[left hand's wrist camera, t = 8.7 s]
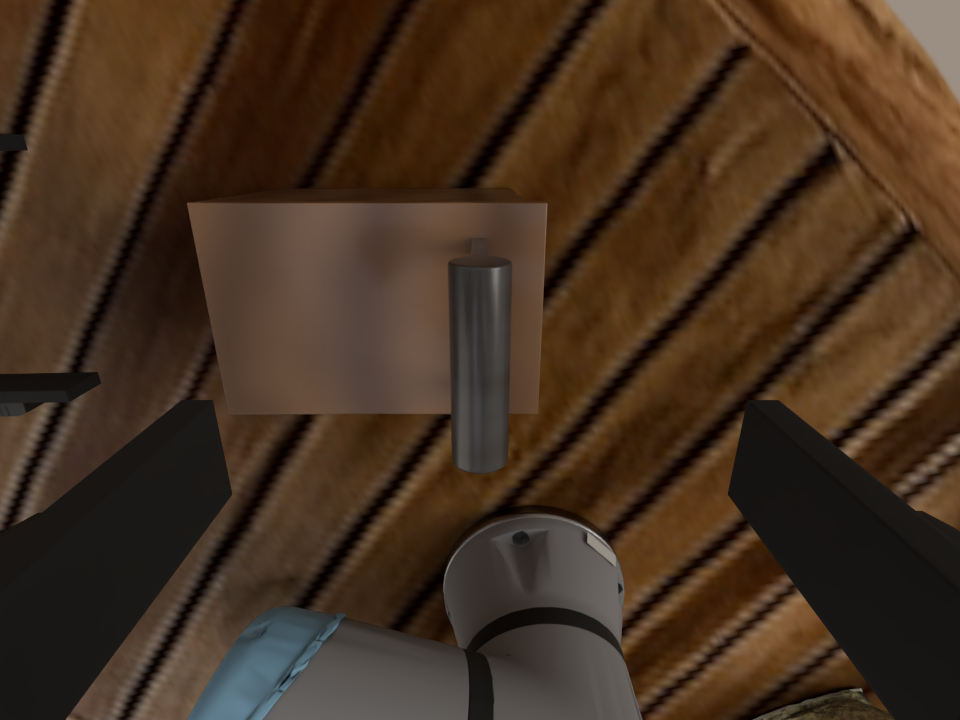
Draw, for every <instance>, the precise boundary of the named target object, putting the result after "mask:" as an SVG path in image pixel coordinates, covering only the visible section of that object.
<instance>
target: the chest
mask: <svg viewBox="0 0 960 720" xmlns="http://www.w3.org/2000/svg"><path fill="white" fill-rule="evenodd" d="M203 201H524V200H523V199H522V198H521V197H520V196H518V195H517V194H516V193H515V192H514V191H513V190H512V189H511V188H284V189H278V190H271V191H264V192H257V193H251V194H244V195H237V196H230V197H223V198H217V199H210V200H203Z"/></svg>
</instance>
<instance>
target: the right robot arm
mask: <svg viewBox="0 0 960 720" xmlns="http://www.w3.org/2000/svg"><path fill="white" fill-rule="evenodd" d="M15 150H27V146H26V143H25V140H24V137H23V135H16V134H0V151H15ZM99 384H101V382H100V378H99V375H98V372H87V373H38V374H0V416H20V415H23V414H25V413H27V412H29V411H31V410H32V409H34V408H36V407H38V406H39V405H41V404H43V403H47V402H70V401H72V400H74V399H75V398H77V397H79V396H80V395H82V394H84V393H85V392H87V391H89V390H90V389H92V388H94V387H96V386H97V385H99Z"/></svg>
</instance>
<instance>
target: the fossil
mask: <svg viewBox="0 0 960 720" xmlns="http://www.w3.org/2000/svg"><path fill="white" fill-rule="evenodd" d="M753 720H894V718H893V717H892V715H891V714H890V713H888V712H885V711H882V710H880V709H877V708H875V707H874V706H873V705H872V704H871V703H870V702H869V701H868V700H867V699H866V697H865V696H864V694H863V691H862V689H861V688H860V689H850V690H843V691H840V692H837V693H832V694H828V695H824V696H821V697H817V698H814V699H809V700H805V701H803V702H802V703H800V704H795V705H789V706H786V707H783V708H780V709H778V710H775V711H772V712H770V713H767V714H764V715H762V716H760V717H758V718H756V719H753Z"/></svg>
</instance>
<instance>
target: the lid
mask: <svg viewBox="0 0 960 720" xmlns="http://www.w3.org/2000/svg"><path fill="white" fill-rule="evenodd" d="M187 206H188V211H189V216H190V221H191V227H192V232H193V237H194V242H195V247H196V252H197V257H198V262H199V267H200V272H201V277H202V282H203V287H204V292H205V297H206V302H207V308H208V313H209V318H210V323H211V328H212V333H213V338H214V343H215V348H216V353H217V358H218V363H219V368H220V373H221V378H222V384H223V389H224V394H225V399H226V404H227V409H228V414H451V430H452V460H453V462H454V464H455V465H456V466H457V467H458V468H460V469H461V470H464V471H466V472H470V473H490V472H494V471H496V470H499V469H500V468H502V467H503V466H504V465H505V464H506V462H507V460H508V435H509V414H538V401H539V379H540V357H541V335H542V313H543V291H544V269H545V247H546V225H547V203H546V202H545V201H196V202H189V203H187Z"/></svg>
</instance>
